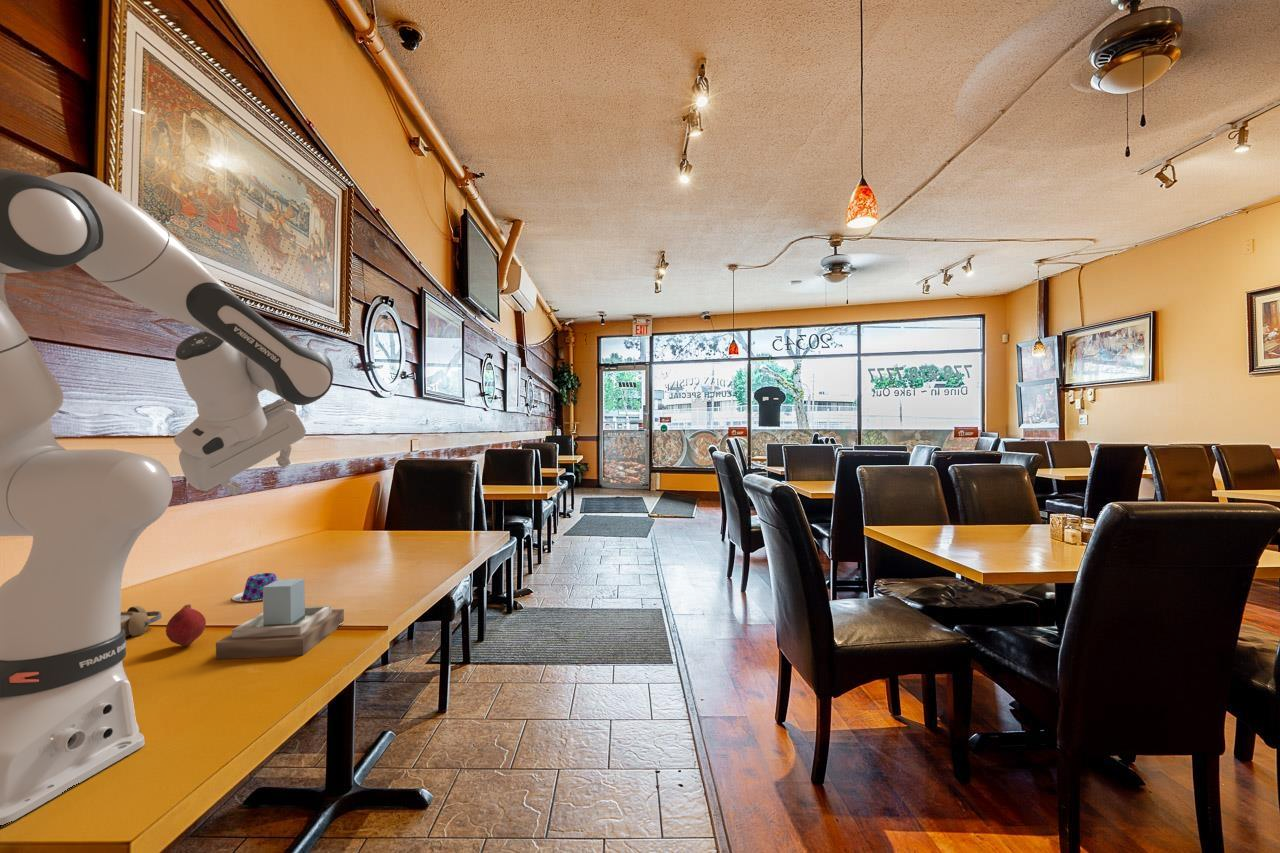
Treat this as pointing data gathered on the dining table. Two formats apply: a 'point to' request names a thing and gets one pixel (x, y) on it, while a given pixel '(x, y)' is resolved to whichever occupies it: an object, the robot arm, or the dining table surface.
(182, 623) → the onion
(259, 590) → the purple and white hat
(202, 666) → the dining table surface
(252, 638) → the tray
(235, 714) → the dining table surface
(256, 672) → the dining table surface
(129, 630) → the alarm clock
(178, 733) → the dining table surface
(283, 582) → the light blue-grey block
